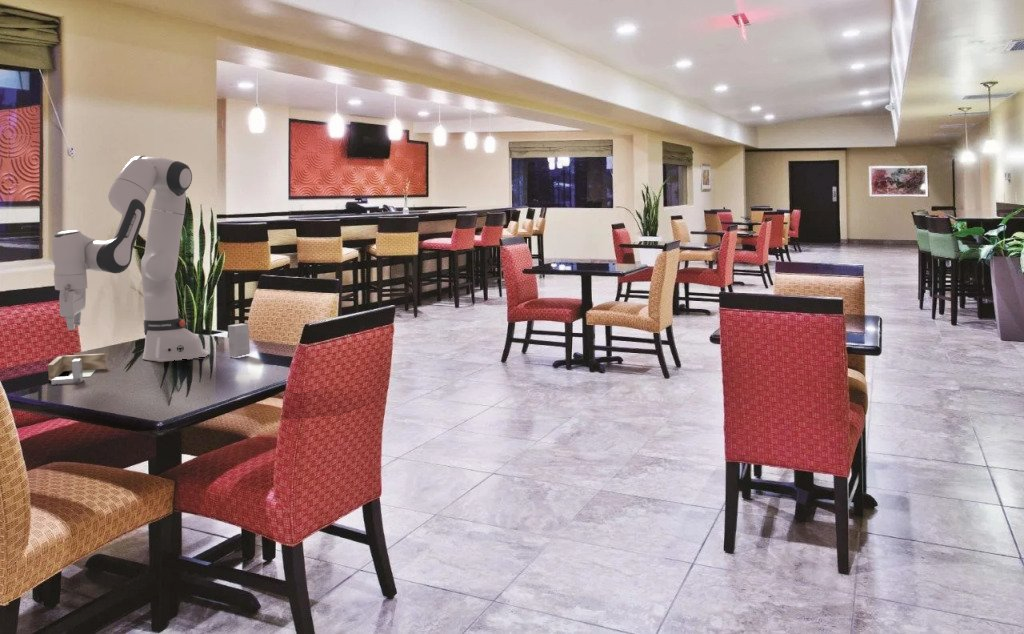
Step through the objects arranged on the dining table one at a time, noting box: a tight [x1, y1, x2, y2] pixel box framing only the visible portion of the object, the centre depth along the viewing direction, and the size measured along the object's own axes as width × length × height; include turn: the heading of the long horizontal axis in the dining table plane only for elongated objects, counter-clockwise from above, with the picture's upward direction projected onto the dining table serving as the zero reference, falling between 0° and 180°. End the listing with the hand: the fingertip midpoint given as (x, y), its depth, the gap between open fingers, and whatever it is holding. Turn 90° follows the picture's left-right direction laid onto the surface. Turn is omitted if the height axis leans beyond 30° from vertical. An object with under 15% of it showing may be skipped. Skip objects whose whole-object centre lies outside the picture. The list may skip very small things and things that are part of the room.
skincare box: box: [227, 323, 251, 357], centre depth 289 cm, size 6×4×12 cm
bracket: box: [50, 358, 84, 386], centre depth 248 cm, size 8×4×7 cm, turn 109°
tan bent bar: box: [47, 353, 107, 382], centre depth 260 cm, size 14×16×5 cm
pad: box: [68, 369, 97, 378], centre depth 260 cm, size 7×11×1 cm, turn 19°
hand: (74, 327), depth 247 cm, fingers open, 8 cm apart
